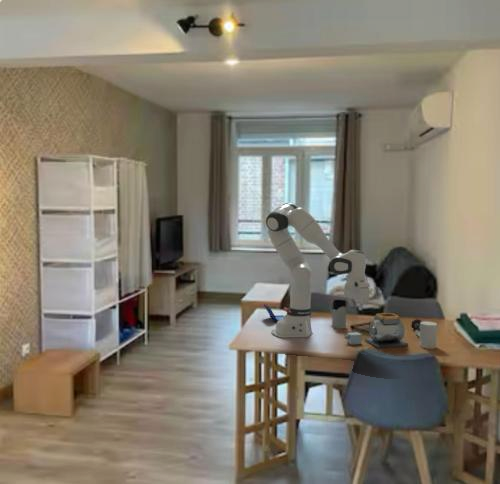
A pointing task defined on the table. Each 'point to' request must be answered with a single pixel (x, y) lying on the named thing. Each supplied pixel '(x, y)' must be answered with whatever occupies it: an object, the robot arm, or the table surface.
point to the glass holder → (338, 314)
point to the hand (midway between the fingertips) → (355, 308)
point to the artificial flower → (416, 326)
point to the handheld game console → (273, 314)
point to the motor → (386, 331)
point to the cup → (428, 335)
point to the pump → (353, 338)
